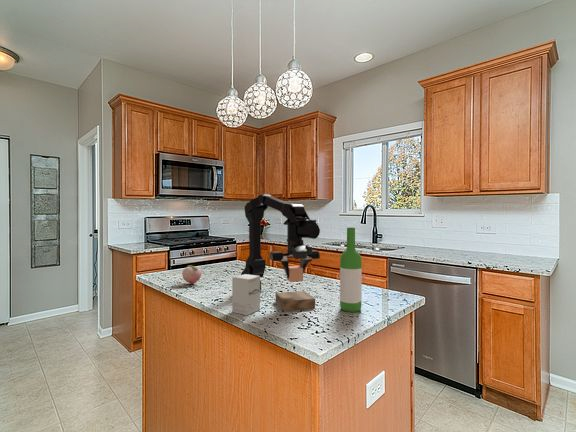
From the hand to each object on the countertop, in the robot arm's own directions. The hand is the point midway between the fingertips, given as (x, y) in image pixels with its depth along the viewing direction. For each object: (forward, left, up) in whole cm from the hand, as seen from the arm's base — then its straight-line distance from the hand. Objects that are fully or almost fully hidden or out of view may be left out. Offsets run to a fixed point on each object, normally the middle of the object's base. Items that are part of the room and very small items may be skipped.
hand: (294, 277), depth 123 cm
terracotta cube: (0, 0, -1) cm, 1 cm away
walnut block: (0, 0, -11) cm, 11 cm away
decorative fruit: (-38, +46, -11) cm, 61 cm away
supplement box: (-19, -2, -11) cm, 22 cm away
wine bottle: (+18, -11, -11) cm, 24 cm away
